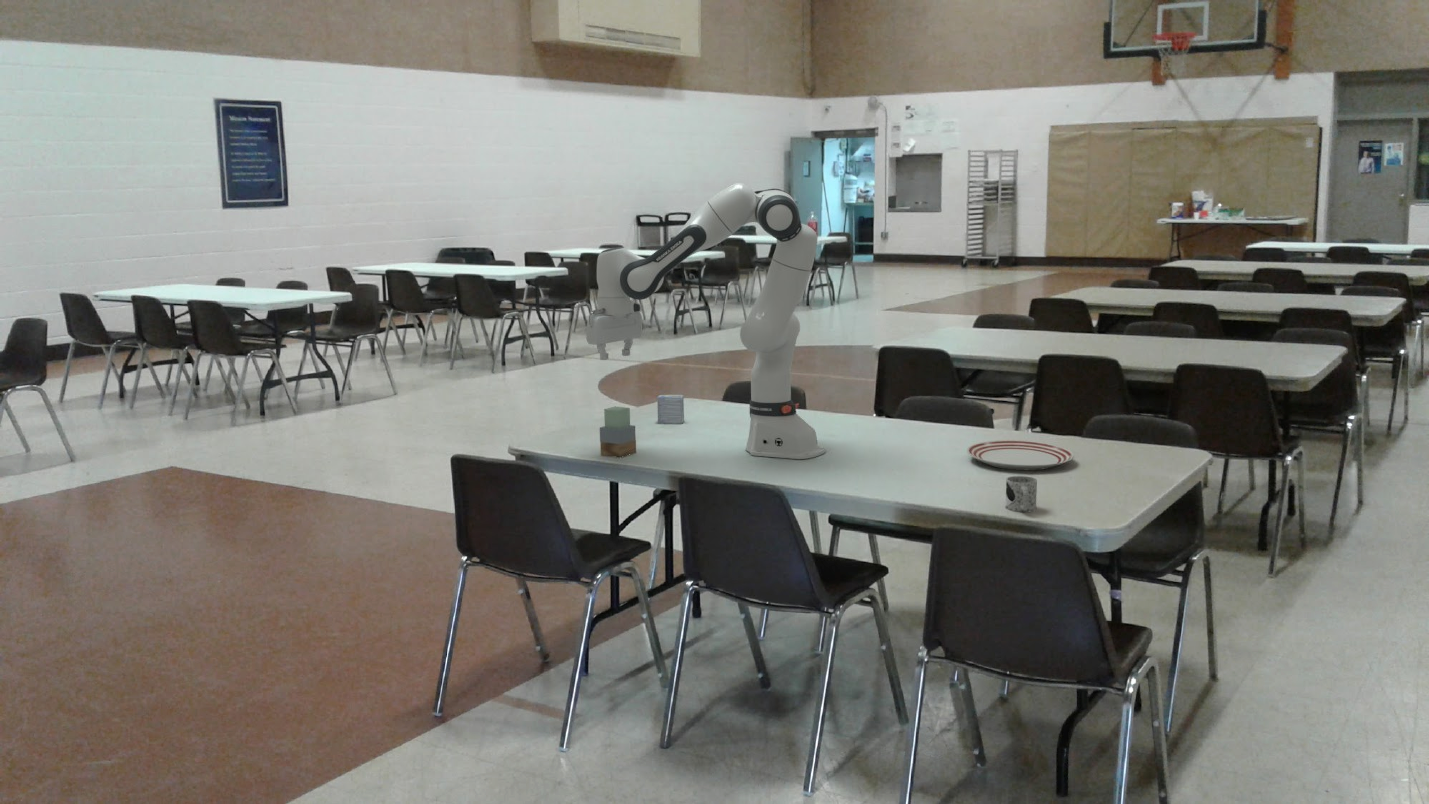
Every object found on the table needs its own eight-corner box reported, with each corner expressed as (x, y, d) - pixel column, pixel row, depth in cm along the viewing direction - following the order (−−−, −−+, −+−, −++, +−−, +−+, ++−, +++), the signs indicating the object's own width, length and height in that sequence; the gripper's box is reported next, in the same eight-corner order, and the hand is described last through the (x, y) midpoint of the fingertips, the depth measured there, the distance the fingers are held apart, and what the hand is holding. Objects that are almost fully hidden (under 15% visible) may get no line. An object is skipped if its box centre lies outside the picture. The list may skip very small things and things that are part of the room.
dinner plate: (1092, 472, 295) (1093, 459, 295) (990, 477, 291) (991, 464, 290) (1045, 449, 322) (1045, 437, 322) (951, 454, 318) (951, 442, 317)
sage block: (630, 425, 322) (629, 407, 321) (619, 428, 318) (618, 410, 317) (615, 423, 325) (615, 406, 324) (604, 426, 321) (604, 409, 320)
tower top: (635, 439, 323) (635, 425, 322) (620, 444, 317) (619, 430, 316) (615, 437, 326) (615, 423, 326) (600, 441, 321) (599, 427, 320)
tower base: (636, 453, 323) (635, 439, 323) (620, 458, 318) (620, 444, 317) (616, 451, 327) (616, 437, 327) (600, 455, 321) (600, 441, 321)
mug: (1003, 504, 265) (1004, 475, 264) (1033, 504, 264) (1034, 476, 263) (1010, 516, 255) (1011, 486, 254) (1041, 516, 254) (1042, 487, 253)
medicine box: (684, 421, 368) (683, 394, 367) (682, 424, 364) (682, 397, 362) (659, 421, 369) (659, 394, 367) (657, 424, 364) (657, 397, 363)
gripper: (598, 311, 305) (599, 363, 308) (645, 304, 322) (646, 354, 325) (580, 310, 309) (581, 361, 311) (627, 303, 326) (629, 352, 328)
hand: (615, 357), depth 318 cm, fingers open, 8 cm apart
